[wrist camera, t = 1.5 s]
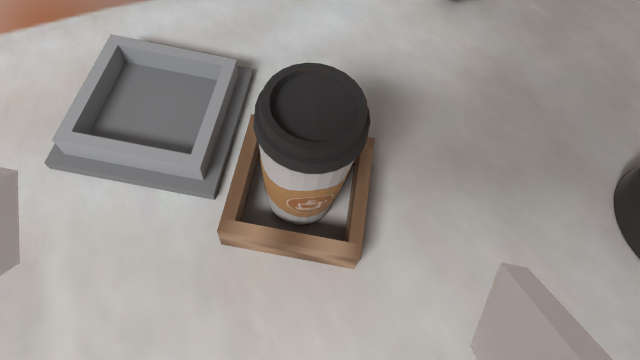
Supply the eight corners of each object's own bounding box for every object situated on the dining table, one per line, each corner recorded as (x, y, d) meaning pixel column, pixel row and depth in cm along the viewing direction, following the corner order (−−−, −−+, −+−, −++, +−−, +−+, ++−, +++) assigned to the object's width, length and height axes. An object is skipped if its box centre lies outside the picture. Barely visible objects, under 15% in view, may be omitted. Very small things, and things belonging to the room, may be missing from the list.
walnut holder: (366, 156, 44) (374, 138, 41) (353, 268, 38) (360, 258, 35) (252, 133, 44) (251, 114, 40) (221, 244, 38) (217, 231, 35)
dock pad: (252, 75, 47) (251, 53, 44) (214, 199, 40) (210, 183, 37) (114, 47, 47) (103, 23, 44) (49, 168, 39) (30, 149, 36)
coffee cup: (261, 241, 38) (258, 163, 25) (253, 164, 42) (246, 59, 29) (348, 231, 40) (388, 151, 26) (333, 157, 43) (361, 54, 30)
